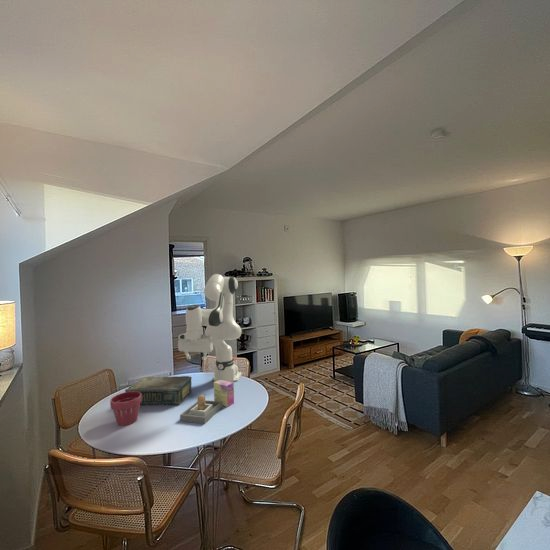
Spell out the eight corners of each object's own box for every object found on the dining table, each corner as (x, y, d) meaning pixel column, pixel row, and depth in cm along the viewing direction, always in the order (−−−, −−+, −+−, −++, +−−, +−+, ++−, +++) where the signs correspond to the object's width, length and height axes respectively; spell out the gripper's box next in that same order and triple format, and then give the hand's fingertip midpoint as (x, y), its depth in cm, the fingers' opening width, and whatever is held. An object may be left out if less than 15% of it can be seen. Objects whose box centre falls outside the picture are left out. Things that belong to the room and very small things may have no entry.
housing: (199, 405, 162) (199, 398, 162) (221, 407, 158) (221, 400, 158) (180, 420, 145) (180, 413, 145) (205, 423, 141) (204, 416, 141)
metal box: (179, 406, 162) (178, 388, 162) (124, 406, 165) (123, 389, 165) (193, 391, 184) (192, 375, 184) (144, 391, 186) (143, 376, 186)
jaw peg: (200, 409, 154) (199, 394, 154) (207, 410, 153) (206, 395, 153) (196, 413, 150) (195, 397, 150) (203, 414, 149) (202, 398, 149)
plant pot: (104, 428, 141) (103, 402, 141) (123, 414, 155) (122, 390, 155) (131, 429, 139) (130, 402, 139) (148, 415, 153) (147, 391, 153)
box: (234, 403, 163) (233, 382, 163) (227, 407, 158) (226, 385, 158) (221, 399, 169) (220, 379, 169) (214, 403, 164) (213, 382, 164)
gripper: (214, 333, 160) (215, 358, 160) (182, 333, 166) (183, 357, 166) (209, 336, 154) (210, 362, 154) (175, 335, 160) (177, 360, 160)
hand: (196, 359), depth 160 cm, fingers open, 8 cm apart
